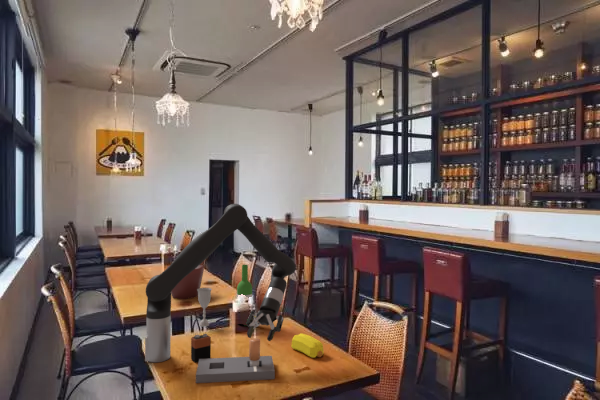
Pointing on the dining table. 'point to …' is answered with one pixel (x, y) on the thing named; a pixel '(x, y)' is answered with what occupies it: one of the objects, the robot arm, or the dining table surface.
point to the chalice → (204, 303)
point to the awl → (254, 352)
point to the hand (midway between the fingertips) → (258, 338)
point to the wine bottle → (244, 283)
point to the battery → (200, 347)
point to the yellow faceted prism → (307, 345)
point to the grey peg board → (234, 369)
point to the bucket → (189, 284)
